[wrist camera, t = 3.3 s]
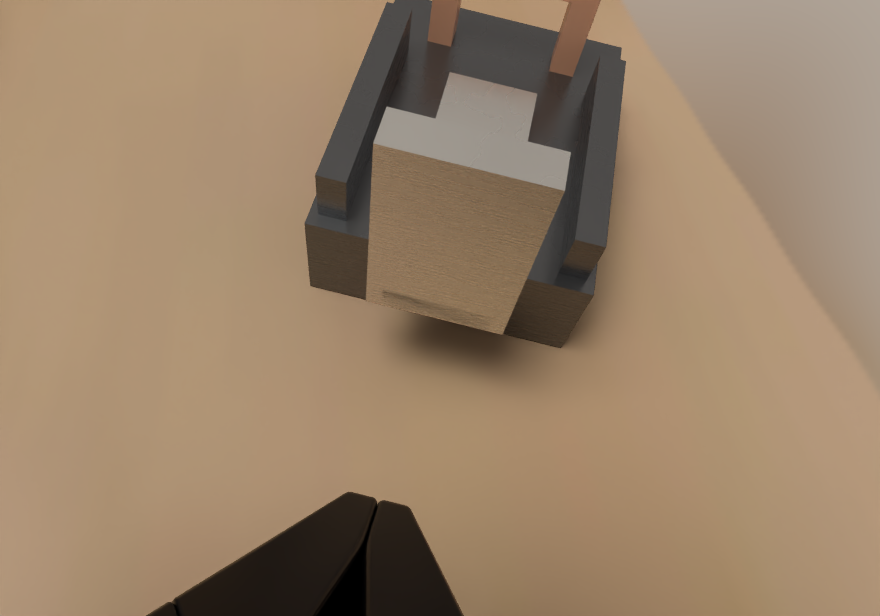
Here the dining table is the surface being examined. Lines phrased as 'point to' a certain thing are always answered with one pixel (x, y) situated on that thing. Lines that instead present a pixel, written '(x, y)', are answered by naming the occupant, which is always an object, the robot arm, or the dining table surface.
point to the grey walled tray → (553, 124)
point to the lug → (567, 44)
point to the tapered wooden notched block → (460, 204)
